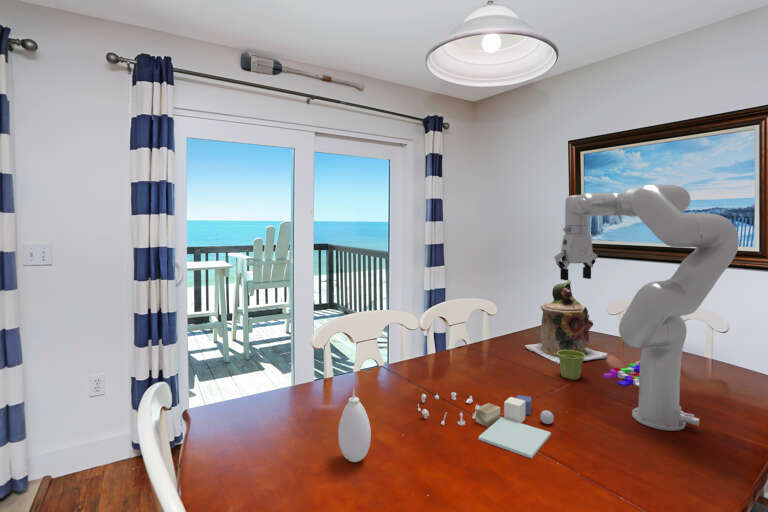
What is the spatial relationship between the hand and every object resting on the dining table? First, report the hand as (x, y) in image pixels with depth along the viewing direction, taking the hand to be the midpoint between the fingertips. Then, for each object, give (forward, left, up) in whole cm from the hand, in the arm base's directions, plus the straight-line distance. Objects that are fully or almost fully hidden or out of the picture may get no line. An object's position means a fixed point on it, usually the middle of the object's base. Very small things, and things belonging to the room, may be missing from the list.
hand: (575, 279), depth 144 cm
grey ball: (-3, +38, -35) cm, 52 cm away
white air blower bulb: (+27, +85, -37) cm, 97 cm away
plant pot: (+2, -3, -37) cm, 37 cm away
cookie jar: (+12, -30, -37) cm, 49 cm away
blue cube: (+5, +35, -37) cm, 51 cm away
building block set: (-19, -17, -38) cm, 45 cm away
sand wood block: (+10, +47, -37) cm, 61 cm away
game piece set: (+23, +48, -37) cm, 65 cm away
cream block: (+5, +42, -37) cm, 56 cm away
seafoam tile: (+1, +51, -37) cm, 63 cm away
